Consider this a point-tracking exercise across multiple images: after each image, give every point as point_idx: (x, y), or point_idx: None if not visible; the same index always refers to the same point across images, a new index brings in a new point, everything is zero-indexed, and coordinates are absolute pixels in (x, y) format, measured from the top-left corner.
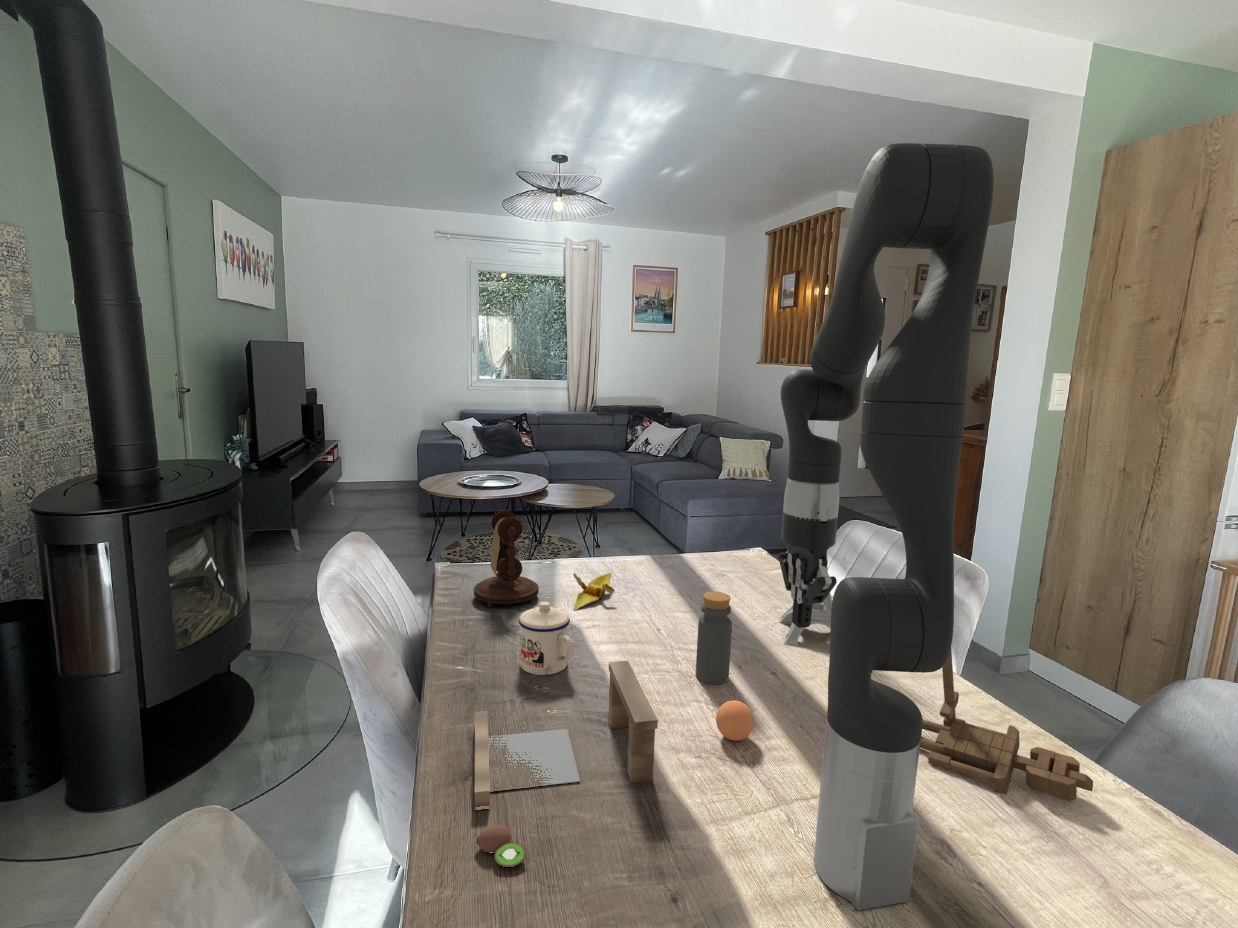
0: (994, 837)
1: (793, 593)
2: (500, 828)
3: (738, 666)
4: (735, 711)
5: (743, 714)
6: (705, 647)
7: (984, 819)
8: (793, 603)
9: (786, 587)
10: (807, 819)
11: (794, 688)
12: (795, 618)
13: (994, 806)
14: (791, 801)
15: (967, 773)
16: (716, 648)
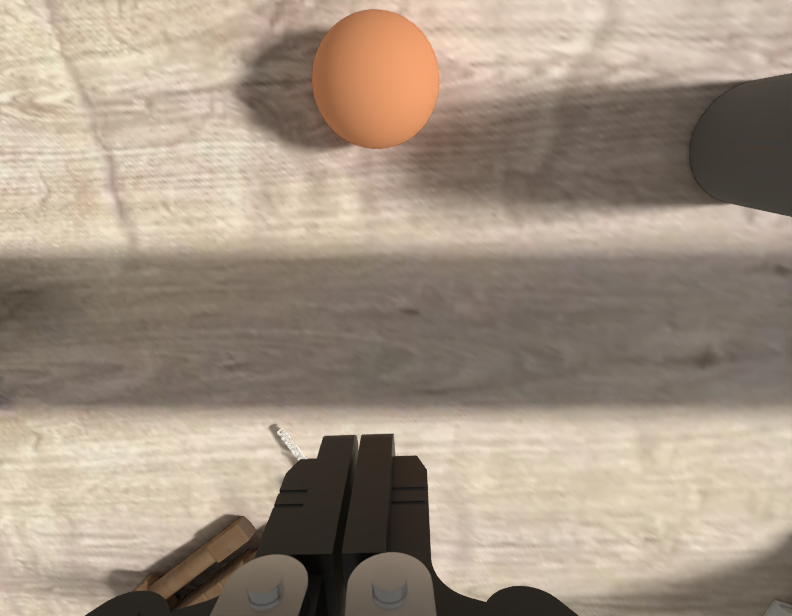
0: (25, 493)
1: (378, 604)
2: None
3: (785, 265)
4: (337, 61)
5: (328, 91)
6: None
7: (72, 507)
8: (381, 528)
9: (527, 608)
10: (41, 154)
11: (601, 381)
12: (340, 458)
13: (109, 545)
14: (102, 143)
15: (184, 560)
16: (786, 130)
